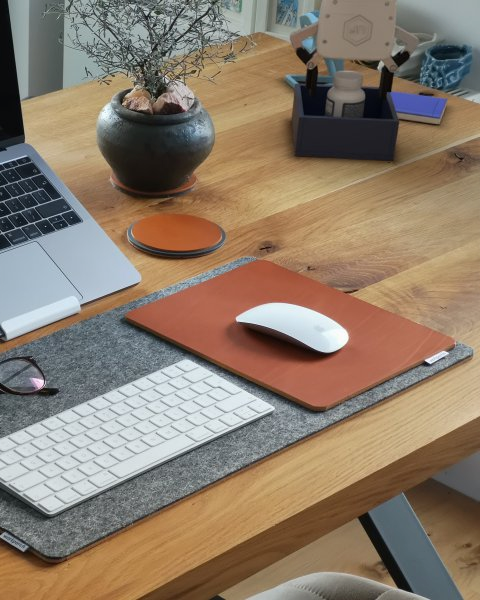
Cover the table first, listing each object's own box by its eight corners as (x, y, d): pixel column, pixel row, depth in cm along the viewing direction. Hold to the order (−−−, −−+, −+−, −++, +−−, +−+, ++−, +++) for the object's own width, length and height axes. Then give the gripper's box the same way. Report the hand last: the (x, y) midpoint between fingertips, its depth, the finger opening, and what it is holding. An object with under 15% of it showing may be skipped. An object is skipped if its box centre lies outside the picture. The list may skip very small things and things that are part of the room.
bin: (382, 124, 164) (388, 87, 161) (393, 161, 153) (399, 121, 150) (291, 120, 166) (295, 83, 163) (294, 156, 154) (298, 116, 151)
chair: (351, 92, 176) (361, 17, 170) (302, 96, 174) (311, 21, 168) (331, 76, 182) (340, 3, 176) (284, 80, 181) (291, 7, 175)
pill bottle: (365, 133, 160) (374, 73, 155) (351, 144, 156) (359, 84, 151) (331, 125, 162) (338, 66, 158) (316, 136, 158) (323, 76, 154)
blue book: (356, 103, 167) (440, 115, 163) (366, 86, 174) (447, 97, 170) (354, 113, 168) (438, 125, 164) (364, 95, 175) (446, 107, 171)
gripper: (297, -23, 145) (285, 102, 154) (433, -19, 143) (413, 107, 152) (294, -37, 151) (283, 83, 160) (425, -34, 149) (406, 88, 158)
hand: (347, 95), depth 156 cm, fingers open, 9 cm apart
